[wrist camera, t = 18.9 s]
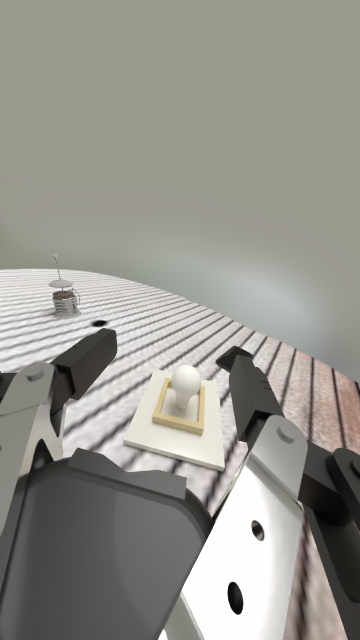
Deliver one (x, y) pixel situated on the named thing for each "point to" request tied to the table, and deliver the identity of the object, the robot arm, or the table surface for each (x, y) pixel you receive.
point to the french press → (59, 305)
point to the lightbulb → (185, 384)
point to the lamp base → (179, 423)
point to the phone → (231, 357)
